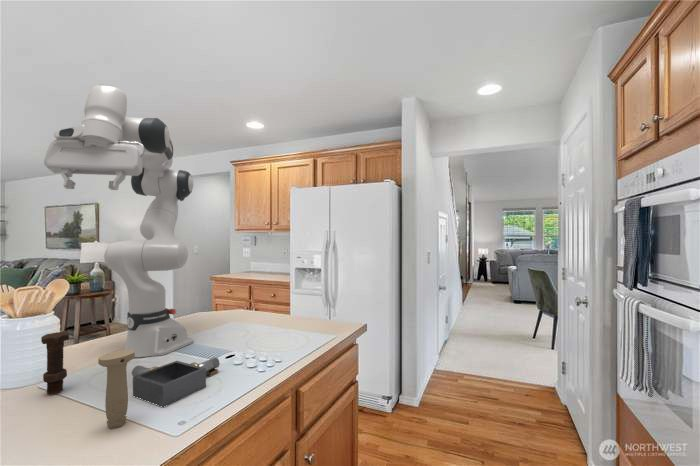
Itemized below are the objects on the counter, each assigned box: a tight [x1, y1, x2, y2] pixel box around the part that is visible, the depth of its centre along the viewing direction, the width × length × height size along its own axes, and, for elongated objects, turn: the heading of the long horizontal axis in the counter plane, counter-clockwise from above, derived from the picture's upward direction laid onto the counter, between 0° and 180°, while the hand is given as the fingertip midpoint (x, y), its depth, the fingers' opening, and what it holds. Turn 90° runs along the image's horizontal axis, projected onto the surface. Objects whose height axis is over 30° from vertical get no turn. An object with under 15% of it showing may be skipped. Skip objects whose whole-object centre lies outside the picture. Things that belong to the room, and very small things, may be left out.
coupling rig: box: [131, 357, 220, 408], centre depth 92 cm, size 20×20×5 cm
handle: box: [97, 349, 136, 429], centre depth 71 cm, size 5×6×15 cm
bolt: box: [40, 331, 70, 396], centre depth 86 cm, size 6×5×15 cm
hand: (91, 188), depth 81 cm, fingers open, 8 cm apart
